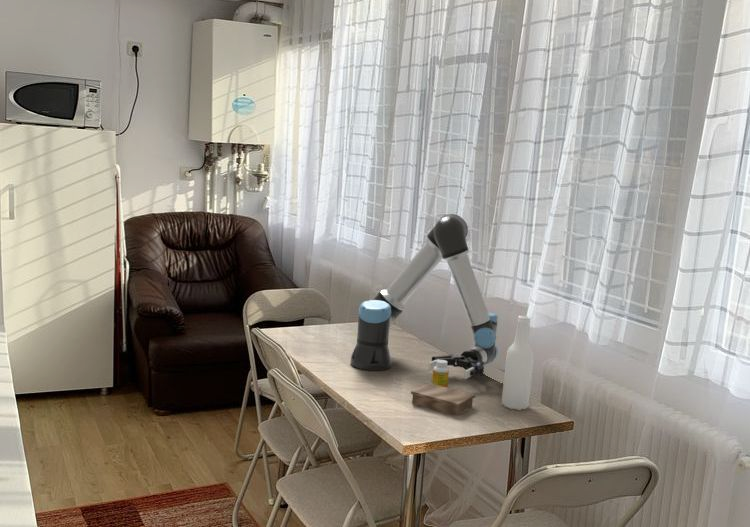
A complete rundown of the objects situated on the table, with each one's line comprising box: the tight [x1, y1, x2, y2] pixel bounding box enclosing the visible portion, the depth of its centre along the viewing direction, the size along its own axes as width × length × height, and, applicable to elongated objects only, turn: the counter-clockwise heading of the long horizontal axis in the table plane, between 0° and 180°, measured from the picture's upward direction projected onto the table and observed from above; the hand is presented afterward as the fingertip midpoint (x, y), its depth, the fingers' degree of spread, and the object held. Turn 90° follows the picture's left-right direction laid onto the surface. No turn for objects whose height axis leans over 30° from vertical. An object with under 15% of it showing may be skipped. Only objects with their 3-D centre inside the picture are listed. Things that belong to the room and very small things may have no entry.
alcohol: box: [501, 315, 535, 410], centre depth 255 cm, size 9×9×30 cm
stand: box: [410, 382, 476, 416], centre depth 252 cm, size 17×12×4 cm
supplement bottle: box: [431, 360, 450, 388], centre depth 269 cm, size 5×5×10 cm
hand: (447, 370), depth 271 cm, fingers open, 13 cm apart
